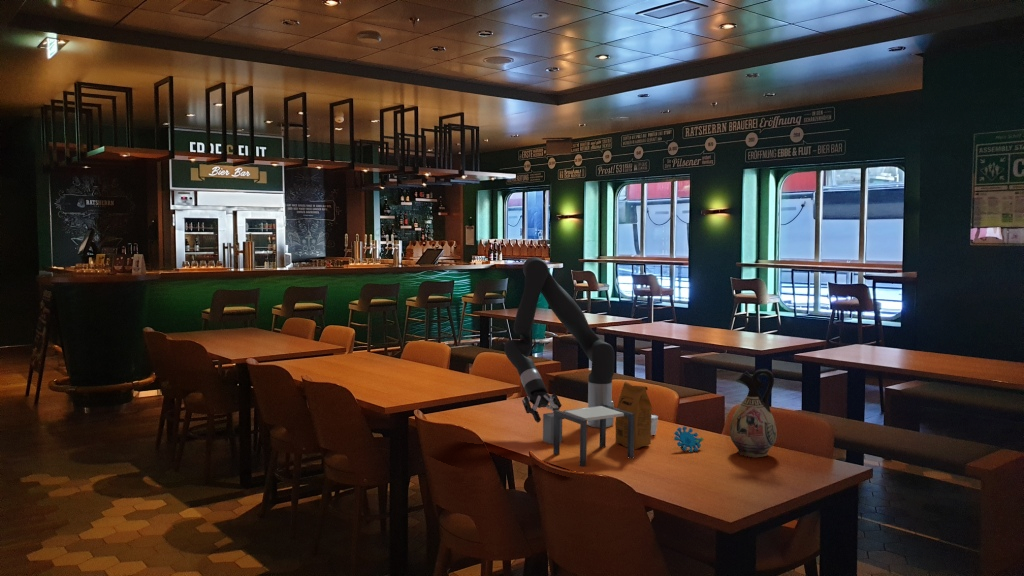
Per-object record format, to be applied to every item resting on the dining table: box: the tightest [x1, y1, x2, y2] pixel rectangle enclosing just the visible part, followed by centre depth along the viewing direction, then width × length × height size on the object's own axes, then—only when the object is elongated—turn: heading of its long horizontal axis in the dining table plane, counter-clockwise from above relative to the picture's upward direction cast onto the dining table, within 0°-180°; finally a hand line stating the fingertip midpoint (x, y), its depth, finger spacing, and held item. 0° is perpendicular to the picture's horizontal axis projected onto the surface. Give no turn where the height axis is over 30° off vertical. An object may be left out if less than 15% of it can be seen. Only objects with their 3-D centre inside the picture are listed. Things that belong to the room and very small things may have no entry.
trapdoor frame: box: [552, 404, 635, 467], centre depth 260 cm, size 21×17×15 cm
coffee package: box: [614, 381, 653, 450], centre depth 274 cm, size 10×12×22 cm
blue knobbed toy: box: [673, 426, 704, 453], centre depth 270 cm, size 11×6×10 cm
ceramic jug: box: [729, 368, 778, 458], centre depth 263 cm, size 17×15×30 cm
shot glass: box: [651, 413, 659, 436], centre depth 290 cm, size 7×7×7 cm
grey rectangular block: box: [542, 412, 563, 445], centre depth 278 cm, size 5×5×10 cm
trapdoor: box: [562, 406, 624, 422], centre depth 260 cm, size 16×13×1 cm
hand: (549, 420), depth 279 cm, fingers open, 8 cm apart
